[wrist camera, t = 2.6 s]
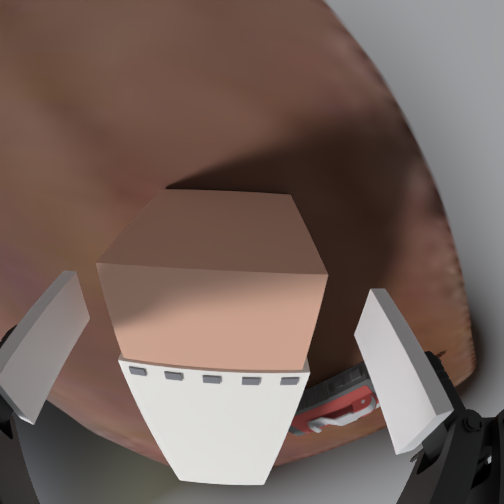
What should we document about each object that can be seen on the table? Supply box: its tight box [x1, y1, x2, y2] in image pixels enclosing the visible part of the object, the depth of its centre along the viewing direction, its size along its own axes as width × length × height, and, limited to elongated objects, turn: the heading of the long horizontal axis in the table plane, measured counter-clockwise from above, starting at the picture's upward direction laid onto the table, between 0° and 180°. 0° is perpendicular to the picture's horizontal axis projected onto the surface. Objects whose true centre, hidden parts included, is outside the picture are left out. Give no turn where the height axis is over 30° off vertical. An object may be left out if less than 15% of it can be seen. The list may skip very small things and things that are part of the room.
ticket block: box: [118, 352, 310, 485], centre depth 21 cm, size 22×9×9 cm, turn 176°
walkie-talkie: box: [288, 358, 441, 436], centre depth 26 cm, size 9×4×20 cm
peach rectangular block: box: [96, 189, 328, 370], centre depth 14 cm, size 5×8×9 cm, turn 86°
